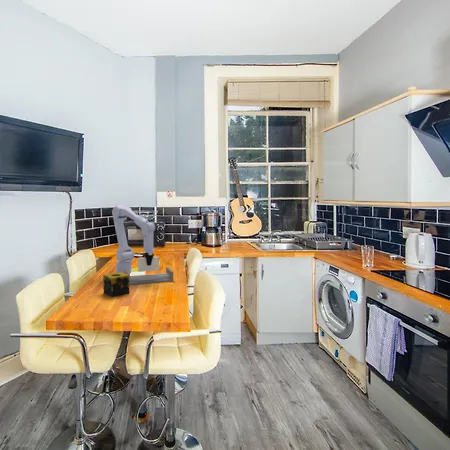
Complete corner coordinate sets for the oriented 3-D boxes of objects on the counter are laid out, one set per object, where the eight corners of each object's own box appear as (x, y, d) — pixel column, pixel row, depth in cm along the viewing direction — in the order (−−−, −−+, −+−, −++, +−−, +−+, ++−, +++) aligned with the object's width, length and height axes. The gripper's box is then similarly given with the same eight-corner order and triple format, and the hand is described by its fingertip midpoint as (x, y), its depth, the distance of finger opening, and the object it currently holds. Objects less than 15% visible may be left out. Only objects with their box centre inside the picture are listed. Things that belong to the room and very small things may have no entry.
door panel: (138, 271, 200) (138, 258, 199) (138, 270, 201) (138, 257, 201) (158, 270, 204) (158, 257, 203) (158, 269, 206) (158, 256, 205)
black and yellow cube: (120, 289, 184) (120, 271, 183) (130, 293, 176) (130, 274, 176) (102, 293, 177) (102, 274, 176) (111, 297, 169) (111, 278, 168)
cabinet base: (126, 285, 192) (126, 274, 191) (124, 279, 205) (124, 269, 204) (173, 281, 202) (173, 271, 201) (168, 276, 215) (168, 266, 214)
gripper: (157, 244, 196) (157, 267, 197) (153, 240, 209) (153, 262, 211) (145, 244, 193) (145, 267, 195) (141, 241, 207) (141, 262, 208)
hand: (148, 265), depth 202 cm, fingers closed on door panel, 2 cm apart
